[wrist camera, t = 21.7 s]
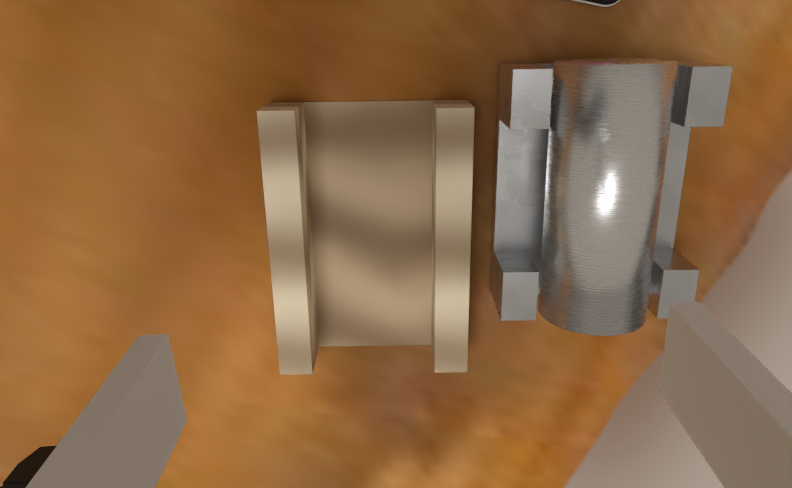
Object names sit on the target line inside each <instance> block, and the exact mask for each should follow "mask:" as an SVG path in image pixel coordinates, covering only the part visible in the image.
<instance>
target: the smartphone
mask: <svg viewBox="0 0 792 488" xmlns="http://www.w3.org/2000/svg"><path fill="white" fill-rule="evenodd" d="M570 1H575V2H580V3H584V4H589V5H594V6H599V7H608V6H612V5H614V4H616V3H618V2H619V1H620V0H570Z"/></svg>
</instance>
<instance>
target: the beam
mask: <svg viewBox="0 0 792 488" xmlns="http://www.w3.org/2000/svg"><path fill="white" fill-rule="evenodd" d="M474 112H475V108H474V107H473V105H472V104H471V103H470V102H469V101H468V100H412V101H343V102H273V103H268V104H266V105H265V106H263V107H262V108H260V109H259V110H257V120H258V132H259V143H260V154H261V166H262V177H263V188H264V199H265V211H266V222H267V233H268V245H269V256H270V267H271V278H272V290H273V301H274V312H275V324H276V335H277V346H278V357H279V369H280V375H288V374H313V370H314V366H315V361H316V357H317V353H318V348H319V346H391V345H431V346H432V355H433V364H434V372H435V373H438V372H467V357H468V322H469V287H470V252H471V217H472V182H473V147H474Z"/></svg>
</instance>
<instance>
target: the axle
mask: <svg viewBox="0 0 792 488" xmlns="http://www.w3.org/2000/svg"><path fill="white" fill-rule="evenodd" d="M677 68H678V61H675V60H666V59H649V58H587V59H568V60H559V61H554V62H553V77H552V92H551V106H550V120H549V137H548V153H547V170H546V187H545V203H544V220H543V236H542V253H541V269H540V286H539V303H538V309H539V312H540V314H541V315H542V317H544V318H545V319H546V320H547V321H549V322H550V323H552V324H554V325H556V326H558V327H560V328H563V329H566V330H569V331H572V332H577V333H581V334H587V335H598V336H612V335H621V334H626V333H630V332H633V331H635V330H637V329H639V328H640V327H642V326H643V325H644V323H645V321H646V314H647V306H648V298H649V290H650V282H651V274H652V266H653V258H654V250H655V243H656V235H657V227H658V219H659V211H660V203H661V195H662V187H663V179H664V171H665V163H666V155H667V147H668V139H669V131H670V124H671V116H672V108H673V100H674V92H675V84H676V76H677Z"/></svg>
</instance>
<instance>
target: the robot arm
mask: <svg viewBox="0 0 792 488" xmlns="http://www.w3.org/2000/svg"><path fill="white" fill-rule="evenodd" d="M660 393H661V395H662V397H663V398H664V400H665V401H666V402H667V404H668V405H669V407H670V408H671V410H672V411H673V413H674V414H675V416H676V417H677V418H678V420H679V421H680V423H681V425H682V426H683V427H684V429H685V430H686V432H687V433H688V435H689V436H690V438H691V439H692V441H693V442H694V444H695V445H696V447H697V448H698V449H699V451H700V453H701V454H702V455H703V457H704V458H705V460H706V461H707V463H708V464H709V466H710V467H711V469H712V470H713V472H714V473H715V475H716V476H717V477H718V479H719V481H720V482H721V483H722V485H723V486H724V488H792V393H791V392H790V391H789V390H788V389H787V388H786V387H785V386H784V385H783V384H782V383H781V382H780V381H779V380H778V379H777V378H776V377H775V376H774V375H773V374H772V373H771V372H770V371H769V370H768V369H767V368H766V367H765V366H764V365H763V364H762V363H761V362H760V361H759V360H758V359H757V358H756V357H755V356H754V355H753V354H752V353H751V352H750V351H749V350H748V349H747V348H746V347H745V346H744V345H743V344H742V343H741V342H740V341H739V340H738V339H736V338H735V336H734V335H733V334H731V333H730V331H728V330H727V328H725V327H724V326H723V325H722V324H721V323H720V322H719V321H718V320H717V319H716V318H715V317H714V316H713V315H712V314H711V313H710V312H709V311H708V310H707V309H706V308H705V307H704V306H703V305H702V304H701V303H700V302H684V303H670V304H669V313H668V322H667V331H666V340H665V349H664V359H663V368H662V377H661V386H660ZM186 422H187V416H186V411H185V407H184V403H183V398H182V394H181V390H180V385H179V381H178V377H177V372H176V368H175V363H174V359H173V355H172V350H171V346H170V342H169V337H168V334H157V335H141V336H138V337H137V339H136V340H135V341H134V343H133V344H132V345H131V347H130V348H129V350H128V351H127V352H126V354H125V355H124V356H123V358H122V359H121V360H120V362H119V363H118V364H117V366H116V367H115V368H114V370H113V371H112V372H111V374H110V375H109V376H108V378H107V379H106V380H105V382H104V383H103V384H102V386H101V387H100V388H99V390H98V391H97V392H96V394H95V395H94V396H93V398H92V399H91V401H90V402H89V403H88V405H87V406H86V407H85V409H84V410H83V411H82V413H81V414H80V415H79V417H78V418H77V419H76V421H75V422H74V423H73V425H72V426H71V427H70V429H69V430H68V431H67V433H66V434H65V435H64V437H63V438H62V439H61V441H60V442H59V443H58V445H57V446H46V447H40V448H38V449H37V450H36V451H35V452H33V453H32V454H31V455H29V456H28V457H27V458H25V459H24V460H23V461H21V462H20V463H19V464H18V465H17V466H16V467H15V468H14V470H13V471H12V472H11V473H10V475H9V476H8V477H7V478H6V480H5V481H4V482H3V486H1V487H0V488H155V487H156V484H157V482H158V480H159V478H160V476H161V474H162V472H163V470H164V468H165V466H166V464H167V462H168V460H169V457H170V455H171V453H172V451H173V449H174V447H175V445H176V443H177V441H178V439H179V437H180V435H181V433H182V430H183V428H184V426H185V424H186Z"/></svg>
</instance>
